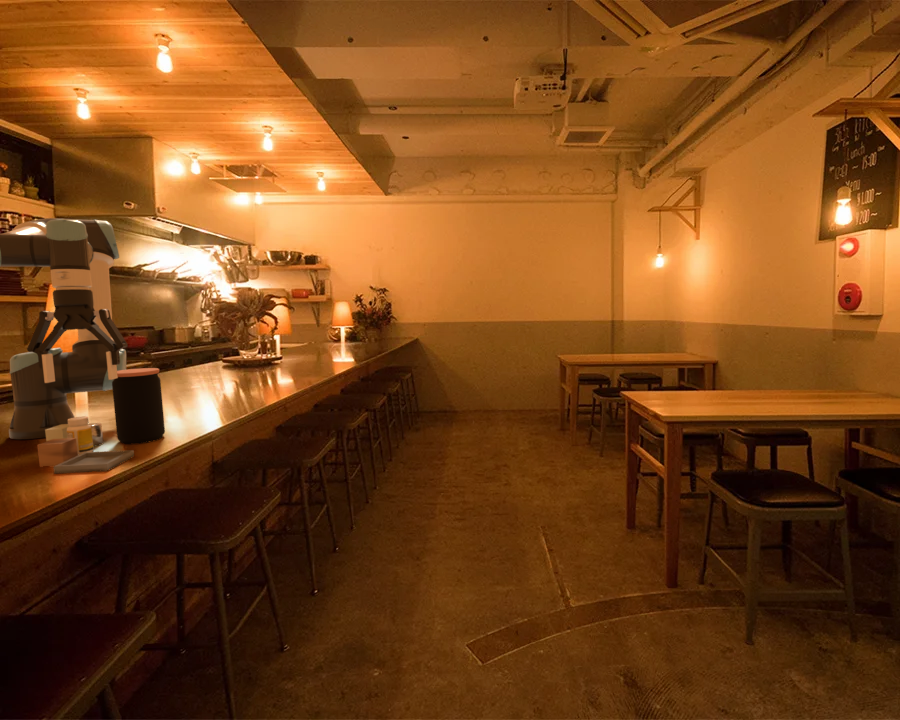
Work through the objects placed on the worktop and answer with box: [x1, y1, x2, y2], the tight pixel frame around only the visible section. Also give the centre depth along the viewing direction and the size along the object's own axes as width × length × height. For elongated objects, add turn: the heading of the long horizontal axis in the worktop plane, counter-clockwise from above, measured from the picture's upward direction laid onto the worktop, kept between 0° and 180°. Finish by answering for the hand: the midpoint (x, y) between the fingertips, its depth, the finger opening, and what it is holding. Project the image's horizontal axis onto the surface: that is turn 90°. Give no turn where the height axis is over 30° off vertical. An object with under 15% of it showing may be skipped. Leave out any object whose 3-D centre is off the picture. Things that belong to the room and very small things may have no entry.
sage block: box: [45, 424, 69, 442], centre depth 132 cm, size 6×4×5 cm, turn 4°
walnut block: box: [36, 438, 78, 468], centre depth 116 cm, size 5×5×5 cm
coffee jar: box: [111, 367, 166, 445], centre depth 135 cm, size 11×11×18 cm
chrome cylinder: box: [88, 422, 104, 447], centre depth 132 cm, size 4×4×5 cm
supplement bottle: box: [67, 415, 95, 455], centre depth 124 cm, size 5×5×8 cm
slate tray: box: [53, 449, 135, 475], centre depth 114 cm, size 11×11×2 cm
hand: (81, 380), depth 123 cm, fingers open, 13 cm apart
